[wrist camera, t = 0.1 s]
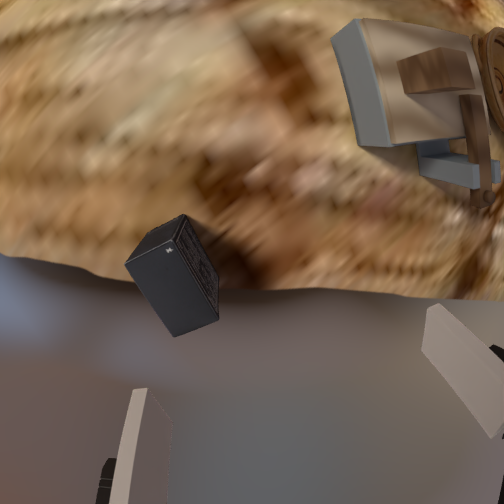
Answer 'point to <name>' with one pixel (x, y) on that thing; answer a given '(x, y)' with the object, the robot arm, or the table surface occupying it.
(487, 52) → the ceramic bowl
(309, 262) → the table surface
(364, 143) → the toolbox
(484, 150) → the latch
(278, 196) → the table surface
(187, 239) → the small box
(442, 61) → the board with wooden block
